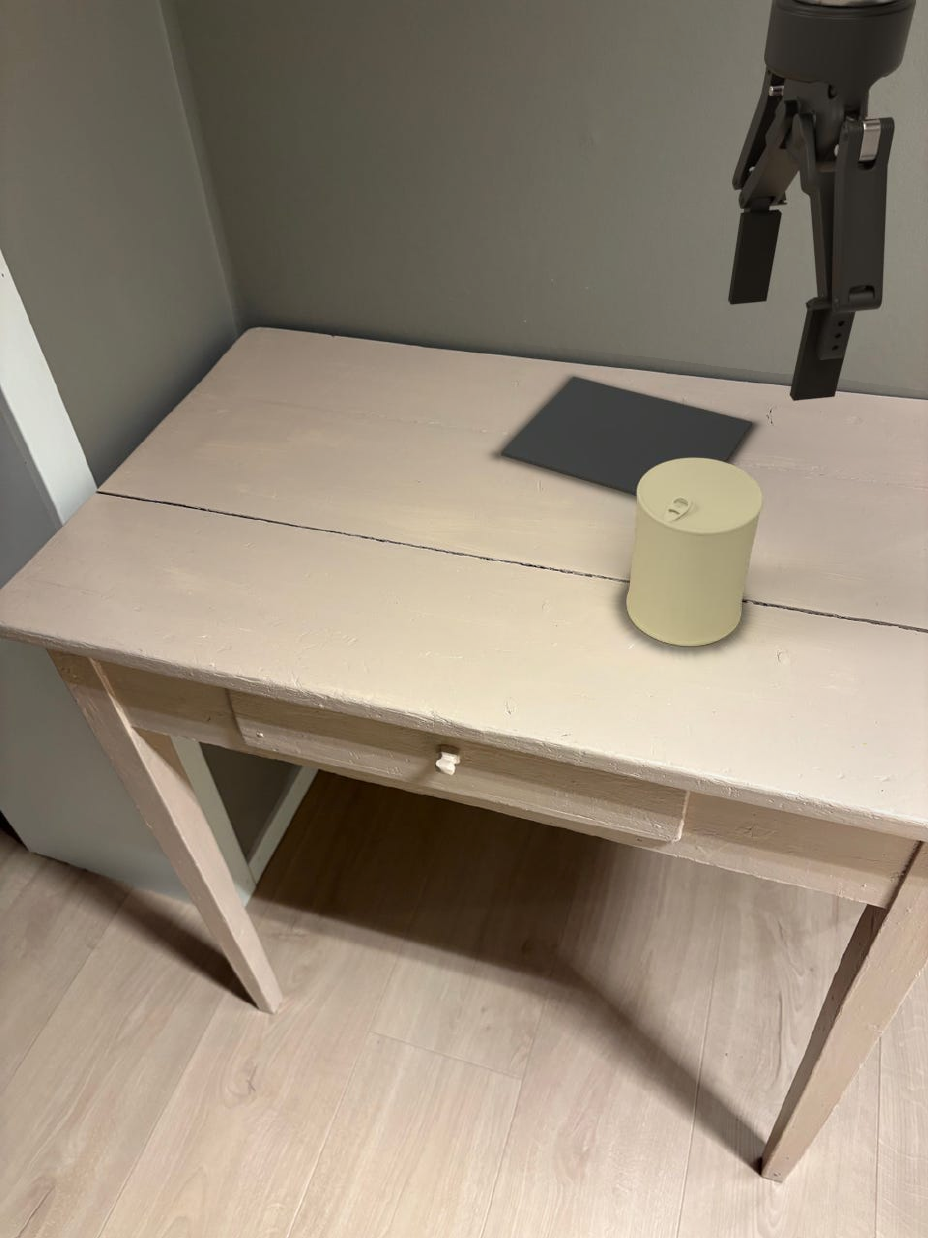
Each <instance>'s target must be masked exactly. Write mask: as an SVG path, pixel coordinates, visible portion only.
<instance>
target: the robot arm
mask: <svg viewBox="0 0 928 1238" xmlns="http://www.w3.org/2000/svg"><path fill="white" fill-rule="evenodd" d="M916 5H917V0H771V5H770V11H769V12H770V13H769V20H768V27H767V33H766V40H765V47H764V55H763V61H764V64H765V71H764V75H763V76H764V77H763V82H762V87H761V93H760V96H759V98H758V101H757V104H756V107H755V109H754V113H753V116H752V118H751V121H750V125H749V128H748V131H747V133H746V137H745V140H744V143H743V146H742V149H741V151H740V154H739V158H738V161H737V163H736V166H735V169H734V172H733V175H732V179H731V185H732V188H733V190H734V191H740V192H739V195H738V206H739V208H740V209H741V210H743V212H740V215H739V216H740V217H739V223H738V227H737V228H738V230H737V235H736V242H735V249H734V256H733V262H732V269H731V278H730V282H729V289H728V297H727V301H728V303H729V304H730V306H734V305H742V304H743V305H744V304H753V303H754V304H755V303H765V302H768V301H767V300H768V296H769V295H768V294H769V290H770V284H771V278H772V273H773V266H774V261H775V256H776V249H777V243H778V238H779V233H780V227H781V221H782V216H783V213H782V211H781V210H780V209H777V208H776V209H771V207H777V206H779V207H780V206H787V205H788V202H786V201H787V193H786V191H787V190H788V189H789V186H790V185H791V184H792V182H793V181H794V179H795V178H796V176H797V175H798V173H799V182H800V189H801V191H802V192H803V193H804V194H805V195H807V196H808V197H809V204H810V205H809V206H810V215H811V228H812V229H811V230H812V242H813V255H814V256H813V257H814V270H815V284H816V296H814V297H812V298H811V299H809V300H807V301H806V302H805V307H806V313H805V319H804V324H803V327H802V333H801V337H800V343H799V347H798V352H797V357H796V360H795V361H796V362H795V365H794V372H793V375H792V380H791V385H790V390H789V396H790V398H791V400H792V401H793V402H796V401H804V400H816V399H818V400H819V399H827V398H828V399H829V398H835V396H836V392H837V389H838V385H839V384H838V383H839V380H840V377H841V372H842V368H843V364H844V360H845V356H846V352H847V349H848V344H849V339H850V336H851V332H852V327H853V324H854V319H855V316H856V313H857V312H863V311H864V312H865V311H875V310H878V309H880V307H881V306H882V303H883V295H884V294H883V293H884V291H883V290H884V271H885V269H884V268H885V246H886V245H885V243H886V242H885V241H886V222H887V221H886V219H887V195H888V193H887V192H888V173H889V171H888V169H889V162H890V156H891V151H892V145H893V140H894V136H895V135H894V134H895V129H896V124H895V120H894V118H893V117H892V116H888V117H875V118H874V117H873V118H872V117H869V99H870V90H871V88H872V86H873V85H874V84H876V83H877V82H878V81H879V80H881V79H882V78H886V77H888V76H891V75H892V74H893V73H895V72H896V71H897V70H898V69H899V67H900V66H901V65H902V63H903V59H904V56H905V52H906V47H907V43H908V39H909V34H910V31H911V30H910V29H911V26H912V21H913V18H914V13H915V10H916ZM752 168H753V169H752Z"/></svg>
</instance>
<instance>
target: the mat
mask: <svg viewBox="0 0 928 1238" xmlns="http://www.w3.org/2000/svg"><path fill="white" fill-rule="evenodd" d="M752 425H753V421H751V420H747V419H743V418H740V417H739V418H738V417H736V416H732V415H727V414H724V413H719V412H717V411H716V412H715V411H712V410H708V409H704V408H699V407H696V406H691V405H688V404H683V403H680V402H676V401H673V400H668V399H665V398H660V397H656V396H652V395H648V394H644V393H640V392H636V391H634V390H633V391H632V390H629V389H625V388H620V387H617V386H613V385H609V384H604V383H602V382H601V383H600V382H597V381H593V380H589V379H584V378H581V377H577V376H573V377H572V378H571V379H570V380H569V381H568V382H567V383H565V385H564V386H563V387H562V388H561V389H560V390H559V391H558V392H557V394H555V395H554V397H552V398H551V399H550V400H549V401H548V402H547V404H545V405H544V407H543V408H541V409H540V411H539V412H537V414H536V415H535V416H534V417H532V419H531V420H530V421H529V422H528V423H527V424H526V425H525V426H524V427H523V428H522V429H521V430H520V431H519V432H518V434H516V436H515V437H513V438H512V439H511V440H510V441H509V442H508V444H507V445H506V446H504V448H502V450H501V451H500V455H501V456H504V457H507V458H510V459H514V460H517V461H521V462H524V463H528V464H531V465H533V466H537V467H541V468H543V469H548V470H550V471H554V472H557V473H560V474H564V475H568V476H571V477H575V478H577V479H581V480H584V481H588V482H591V483H594V484H598V485H601V486H603V487H608V488H612V489H614V490H618V491H621V492H624V493H628V494H630V495H634V496H637V487H638V484H639V482H640V480H641V478H642V477H643V476H644V474H645V473H647V472H648V471H649V470H650V469H652V468H653V467H655V466H657V465H659V464H662V463H664V462H667V461H671V460H675V459H682V458H707V459H713V460H718V461H722V462H726V463H728V460H729V459H730V458H731V456H732V455H733V453H734V452H735V450H736V449H737V447H738V446H739V445H740V443H741V442H742V440H743V439H744V437H745V436H746V434H747V433H748V431H749V430H750V428H751V427H752Z"/></svg>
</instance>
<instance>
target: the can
mask: <svg viewBox="0 0 928 1238" xmlns="http://www.w3.org/2000/svg"><path fill="white" fill-rule="evenodd" d="M763 507H764V493H763V490H762V487H761V486H760V484H759V483H758V481H757V480H756V479H755V478H753V476H752V475H750V473H748V472H746V471H745V470H743V469H741V468H740V467H738V466H736V465H734V464H731V463H728V462H722V461H718V460H713V459H707V458H682V459H675V460H671V461H667V462H664V463H662V464H659V465H657V466H655V467H653V468H652V469H650V470H649V471H648V472H647V473H645V474H644V476H643V477H642V478H641V480H640V482H639V484H638V487H637V495H636V513H635V525H634V537H633V546H632V558H631V560H632V561H631V568H630V569H631V571H630V580H629V588H628V589H629V590H628V592H627V595H626V600H625V601H626V603H625V604H626V610H627V613H628V616H629V618H630V619H631V621H632V622H633V623H634V625H635V626H636V627H637V628H638V629H639V630H640V631H642V632H643V633H644V634H646V635H647V636H649V637H650V638H653V639H655V640H657V641H659V642H663V643H665V644H669V645H673V646H679V647H680V646H681V647H698V646H706V645H710V644H712V643H715V642H718V641H720V640H723V639H724V638H726V637H727V636H729V635H730V634H731V633H732V632H733V631H734V630H735V629H736V628H737V626H738V624H739V623H740V621H741V618H742V611H743V609H742V608H743V607H742V603H743V598H744V593H745V586H746V581H747V576H748V572H749V567H750V562H751V557H752V552H753V547H754V543H755V537H756V533H757V528H758V525H759V520H760V515H761V512H762V510H763Z"/></svg>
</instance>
